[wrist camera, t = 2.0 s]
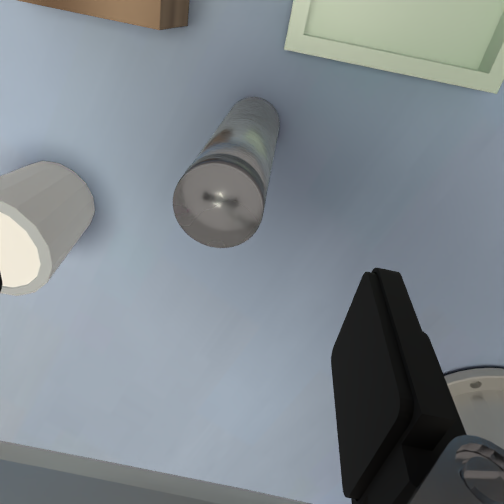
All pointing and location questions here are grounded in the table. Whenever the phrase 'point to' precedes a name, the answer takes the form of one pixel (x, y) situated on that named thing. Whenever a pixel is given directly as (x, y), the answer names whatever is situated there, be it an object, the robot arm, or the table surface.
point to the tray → (407, 37)
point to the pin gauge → (230, 177)
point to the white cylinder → (39, 223)
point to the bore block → (128, 11)
